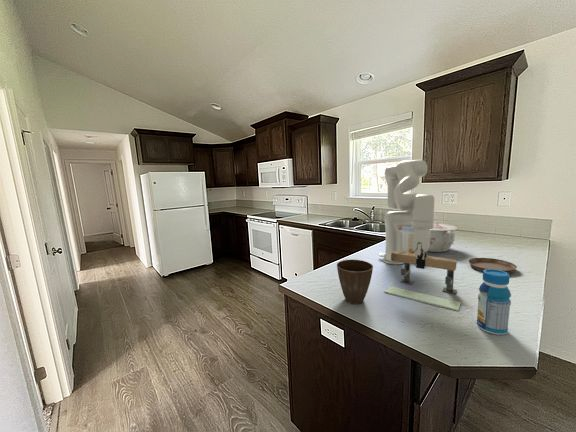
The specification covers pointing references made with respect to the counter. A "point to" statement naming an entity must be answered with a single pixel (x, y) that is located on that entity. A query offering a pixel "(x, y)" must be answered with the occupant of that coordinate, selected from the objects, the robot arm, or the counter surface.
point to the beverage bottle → (494, 302)
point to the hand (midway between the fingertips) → (421, 266)
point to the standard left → (406, 274)
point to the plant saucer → (492, 264)
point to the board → (424, 298)
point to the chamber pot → (441, 237)
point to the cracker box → (407, 239)
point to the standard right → (449, 283)
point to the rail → (429, 260)
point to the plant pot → (354, 279)
